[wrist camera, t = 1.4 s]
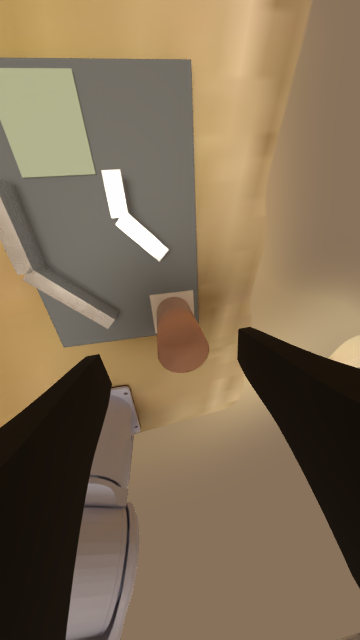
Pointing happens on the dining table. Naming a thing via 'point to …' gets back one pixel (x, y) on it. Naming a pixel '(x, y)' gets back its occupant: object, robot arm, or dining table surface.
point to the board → (88, 186)
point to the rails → (26, 257)
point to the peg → (179, 337)
